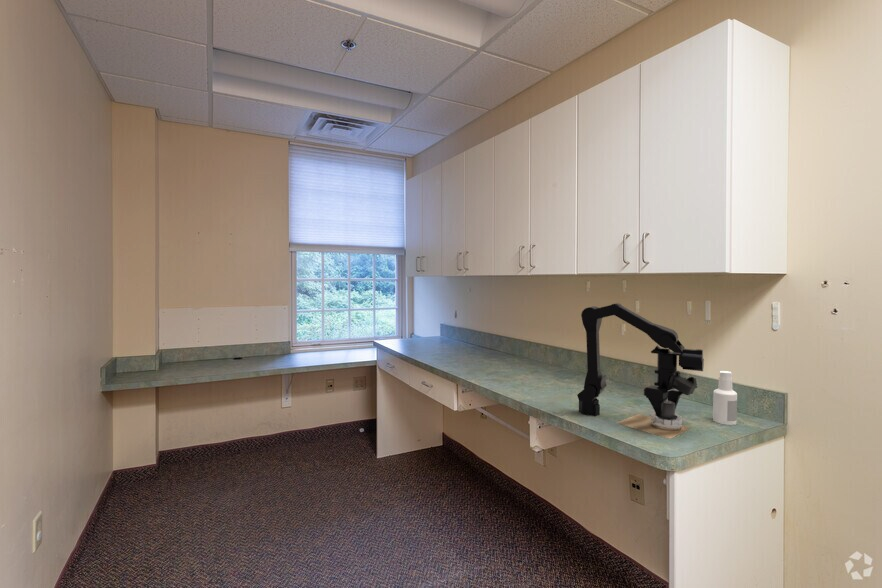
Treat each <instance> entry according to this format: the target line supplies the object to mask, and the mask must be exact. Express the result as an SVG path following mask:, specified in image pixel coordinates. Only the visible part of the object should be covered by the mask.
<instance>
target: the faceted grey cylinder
mask: <svg viewBox="0 0 882 588" xmlns="http://www.w3.org/2000/svg"><path fill="white" fill-rule="evenodd" d="M650 417H651V426H653V427H654V428H657V429H660V430H665V431H679V430H681V429H682V425H683V416H682V415H680V414H678V413H675V419H664V418H660V417H657V415H656V413H655V411H652V412H650Z"/></svg>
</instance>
